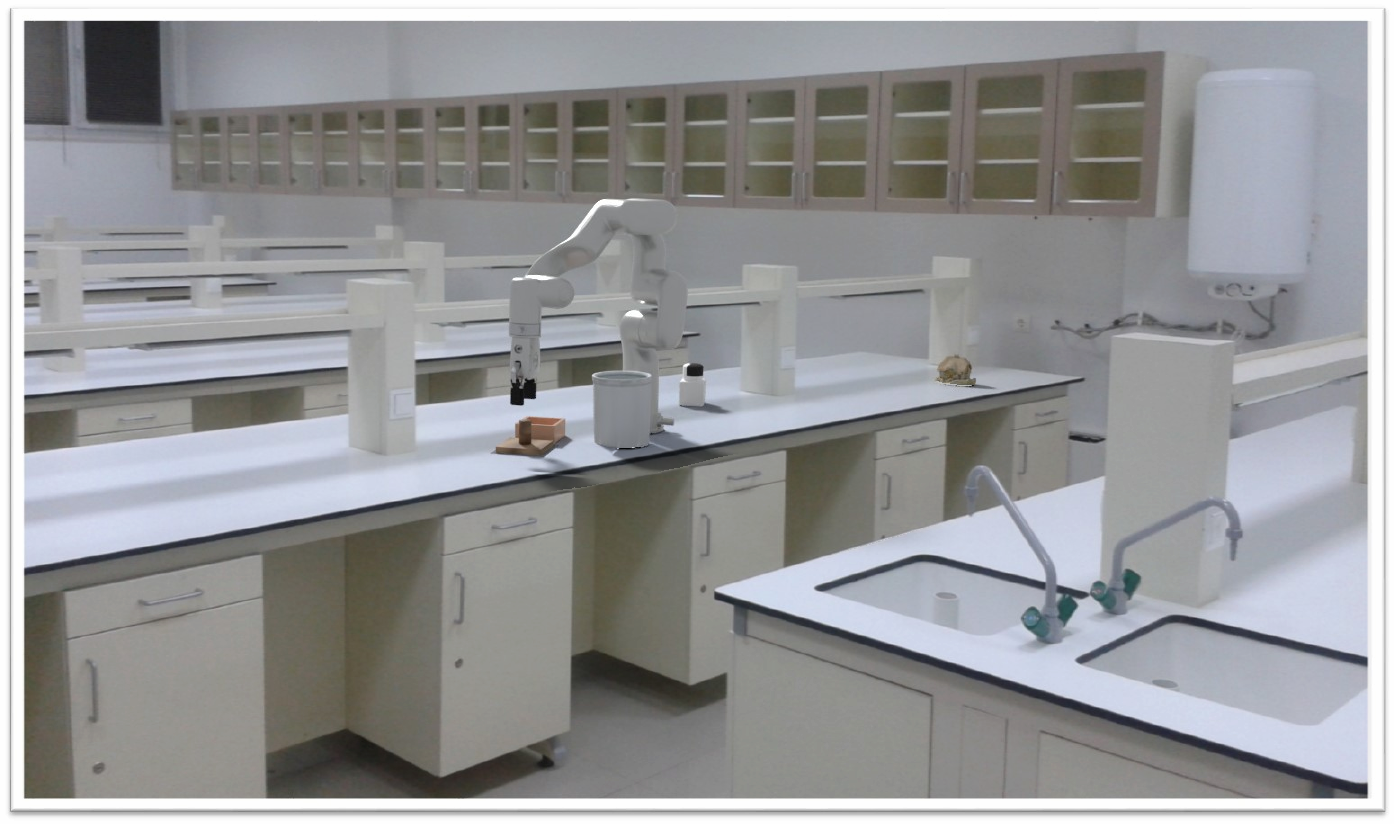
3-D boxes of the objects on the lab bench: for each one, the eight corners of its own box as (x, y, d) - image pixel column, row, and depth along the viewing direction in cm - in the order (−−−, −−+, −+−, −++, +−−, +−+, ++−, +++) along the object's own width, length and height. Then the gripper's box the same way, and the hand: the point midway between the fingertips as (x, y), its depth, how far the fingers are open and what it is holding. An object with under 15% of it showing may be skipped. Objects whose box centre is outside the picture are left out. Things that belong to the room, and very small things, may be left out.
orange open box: (565, 437, 320) (565, 418, 319) (554, 446, 310) (554, 426, 309) (527, 435, 321) (527, 416, 320) (515, 443, 311) (515, 423, 310)
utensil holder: (578, 444, 313) (579, 374, 309) (615, 435, 325) (616, 367, 322) (626, 453, 305) (627, 381, 301) (662, 443, 317) (663, 374, 314)
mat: (558, 447, 308) (558, 445, 308) (543, 459, 296) (543, 456, 295) (507, 444, 310) (507, 441, 310) (490, 455, 298) (490, 453, 297)
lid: (553, 445, 307) (553, 417, 306) (540, 455, 297) (540, 426, 295) (510, 443, 309) (510, 414, 308) (495, 452, 298) (495, 423, 297)
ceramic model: (928, 383, 422) (930, 353, 420) (942, 379, 431) (944, 350, 429) (967, 388, 414) (970, 358, 412) (981, 384, 423) (983, 354, 421)
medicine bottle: (705, 402, 374) (706, 362, 372) (703, 407, 367) (704, 366, 365) (681, 401, 375) (682, 361, 372) (678, 405, 368) (679, 365, 365)
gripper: (529, 335, 288) (527, 408, 291) (550, 327, 305) (548, 397, 308) (498, 332, 289) (496, 406, 292) (520, 325, 306) (519, 395, 309)
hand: (523, 401), depth 300 cm, fingers open, 9 cm apart
